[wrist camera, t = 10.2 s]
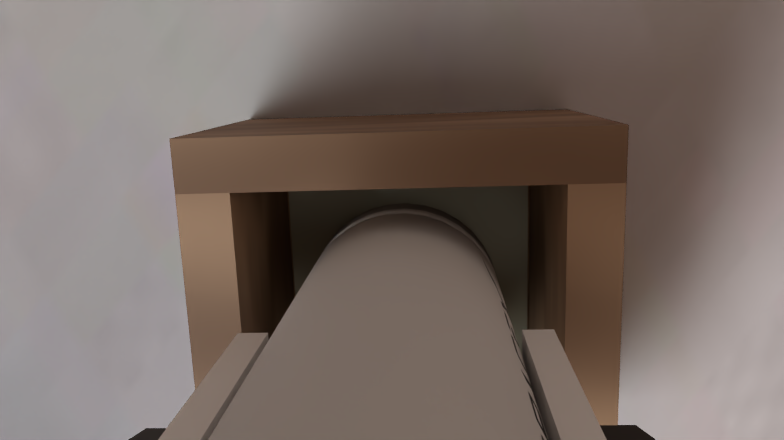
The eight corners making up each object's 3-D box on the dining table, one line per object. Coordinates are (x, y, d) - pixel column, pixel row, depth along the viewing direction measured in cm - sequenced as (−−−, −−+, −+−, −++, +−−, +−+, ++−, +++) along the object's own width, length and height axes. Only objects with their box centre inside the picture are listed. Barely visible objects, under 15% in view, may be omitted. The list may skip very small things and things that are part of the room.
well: (249, 119, 26) (169, 138, 18) (567, 109, 25) (628, 124, 17) (271, 408, 28) (210, 535, 21) (561, 407, 28) (613, 538, 20)
